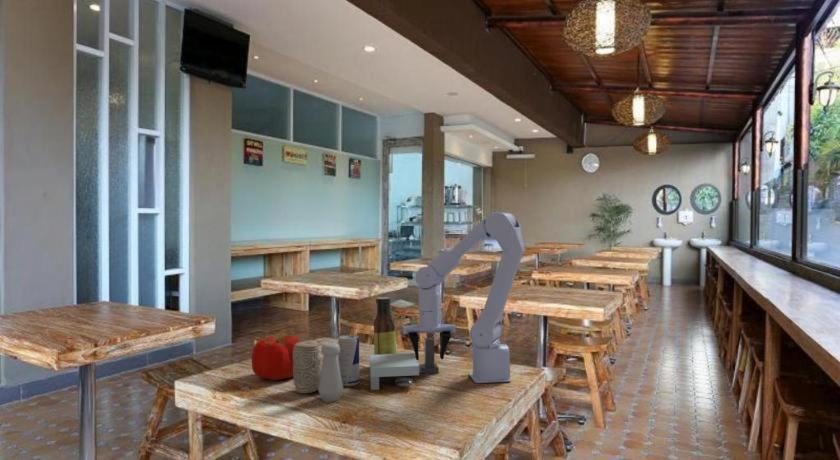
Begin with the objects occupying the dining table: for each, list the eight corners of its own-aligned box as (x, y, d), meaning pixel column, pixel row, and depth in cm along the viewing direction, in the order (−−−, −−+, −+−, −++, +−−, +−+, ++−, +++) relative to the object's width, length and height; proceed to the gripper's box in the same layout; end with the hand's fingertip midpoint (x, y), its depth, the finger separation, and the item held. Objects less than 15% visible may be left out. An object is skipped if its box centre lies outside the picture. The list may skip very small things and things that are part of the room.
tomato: (298, 367, 145) (298, 330, 144) (309, 380, 133) (308, 340, 132) (248, 373, 139) (248, 335, 138) (255, 388, 127) (254, 346, 127)
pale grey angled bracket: (414, 373, 138) (413, 353, 138) (419, 387, 126) (419, 365, 126) (369, 375, 137) (369, 354, 136) (371, 390, 125) (370, 367, 125)
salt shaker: (338, 404, 115) (337, 347, 115) (314, 402, 116) (314, 346, 116) (346, 395, 121) (346, 341, 121) (324, 394, 122) (323, 340, 122)
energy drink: (363, 381, 131) (363, 335, 131) (352, 387, 126) (351, 340, 126) (345, 378, 134) (345, 333, 133) (334, 384, 129) (334, 338, 128)
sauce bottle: (400, 366, 145) (400, 297, 145) (388, 371, 140) (387, 300, 139) (382, 362, 148) (382, 295, 148) (369, 368, 143) (368, 298, 143)
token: (411, 382, 132) (411, 377, 132) (413, 387, 127) (413, 382, 127) (394, 382, 131) (394, 378, 131) (396, 388, 127) (396, 383, 127)
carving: (305, 385, 128) (304, 338, 128) (327, 390, 125) (327, 342, 124) (286, 392, 123) (286, 343, 123) (310, 398, 119) (309, 347, 119)
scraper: (436, 368, 143) (436, 336, 142) (438, 373, 138) (438, 340, 138) (388, 370, 141) (388, 338, 141) (389, 375, 137) (389, 342, 136)
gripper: (452, 306, 145) (452, 354, 145) (401, 308, 143) (402, 355, 143) (457, 311, 138) (457, 360, 138) (404, 312, 136) (404, 362, 136)
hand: (429, 358), depth 140 cm, fingers open, 6 cm apart
